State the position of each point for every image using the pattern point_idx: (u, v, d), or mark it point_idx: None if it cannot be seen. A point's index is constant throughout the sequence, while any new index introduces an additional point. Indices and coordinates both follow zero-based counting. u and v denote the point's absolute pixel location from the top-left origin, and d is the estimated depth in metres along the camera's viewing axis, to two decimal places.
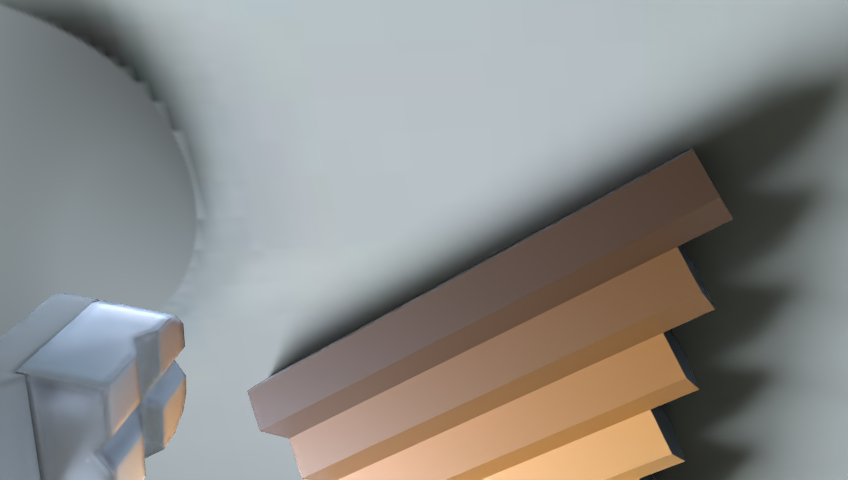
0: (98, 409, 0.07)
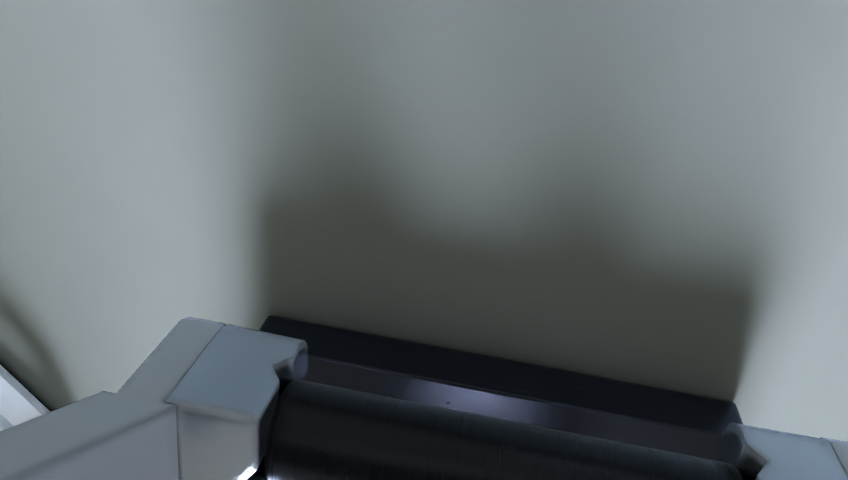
0: (247, 439, 0.07)
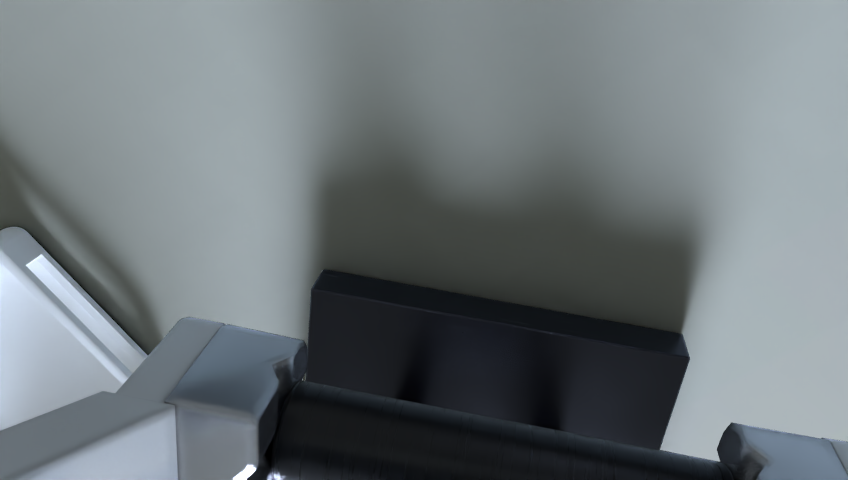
0: (247, 439, 0.07)
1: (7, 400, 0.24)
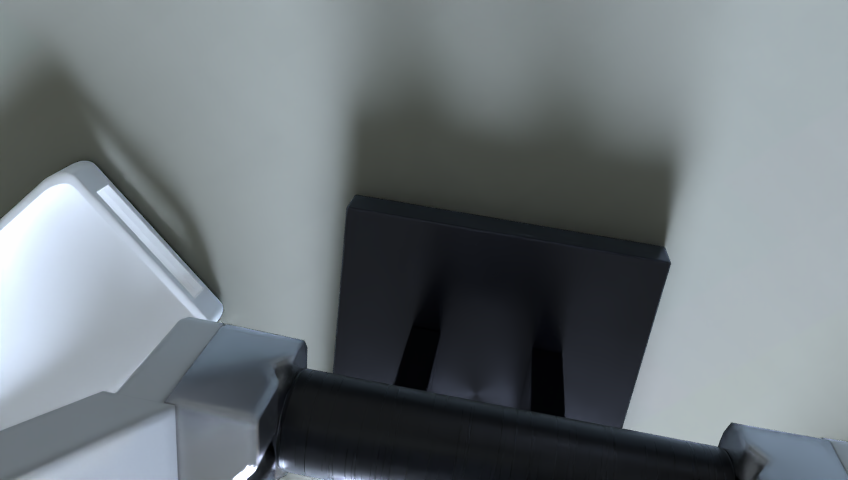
0: (246, 439, 0.07)
1: (70, 322, 0.27)
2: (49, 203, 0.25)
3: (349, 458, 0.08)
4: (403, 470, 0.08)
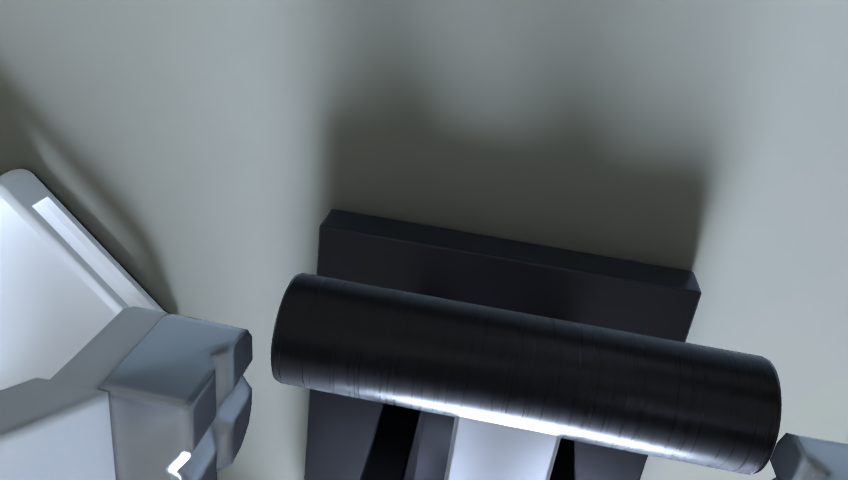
0: (180, 425, 0.07)
1: (13, 349, 0.24)
2: None
3: (354, 345, 0.07)
4: (414, 358, 0.07)
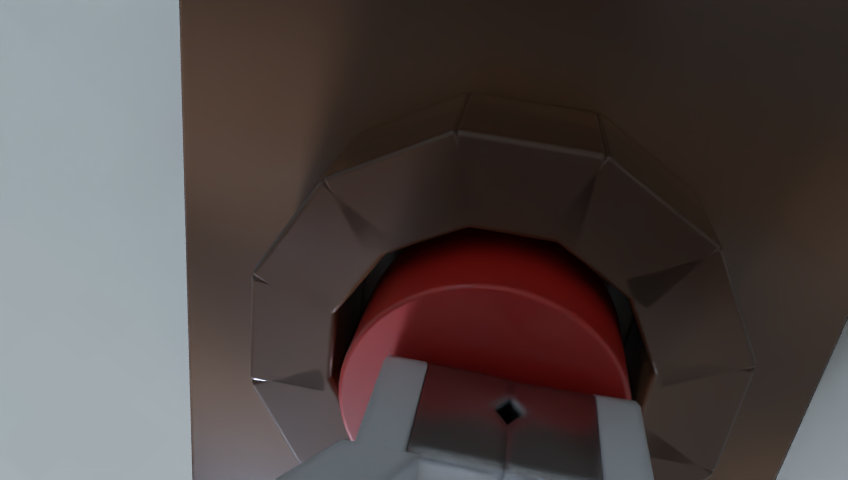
0: None
1: None
2: None
3: None
4: None
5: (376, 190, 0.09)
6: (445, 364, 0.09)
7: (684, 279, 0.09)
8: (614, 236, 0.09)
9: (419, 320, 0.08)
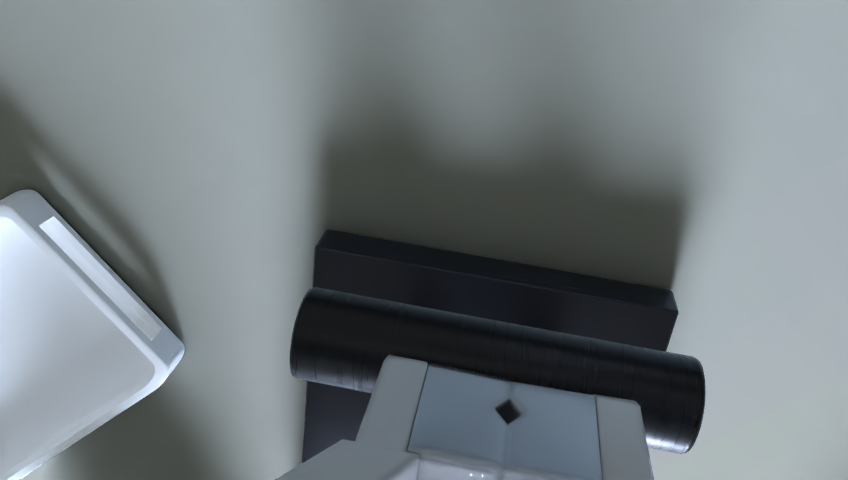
0: None
1: (20, 360, 0.25)
2: None
3: (359, 344, 0.09)
4: (408, 354, 0.09)
5: None
6: None
7: None
8: None
9: None
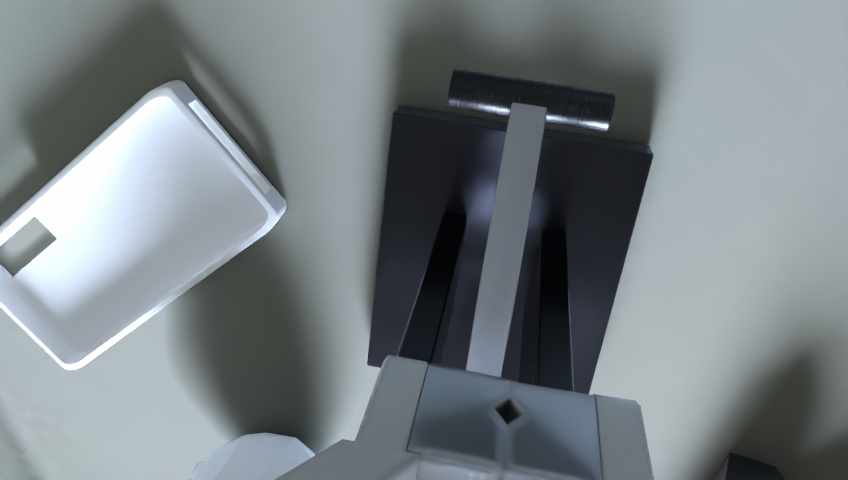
0: None
1: (157, 219, 0.33)
2: (145, 117, 0.31)
3: (479, 76, 0.22)
4: (499, 79, 0.22)
5: None
6: None
7: None
8: None
9: None
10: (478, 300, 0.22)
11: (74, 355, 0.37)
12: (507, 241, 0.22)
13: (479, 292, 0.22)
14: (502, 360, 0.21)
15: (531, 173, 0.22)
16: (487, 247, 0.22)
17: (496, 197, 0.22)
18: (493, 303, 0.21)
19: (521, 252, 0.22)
